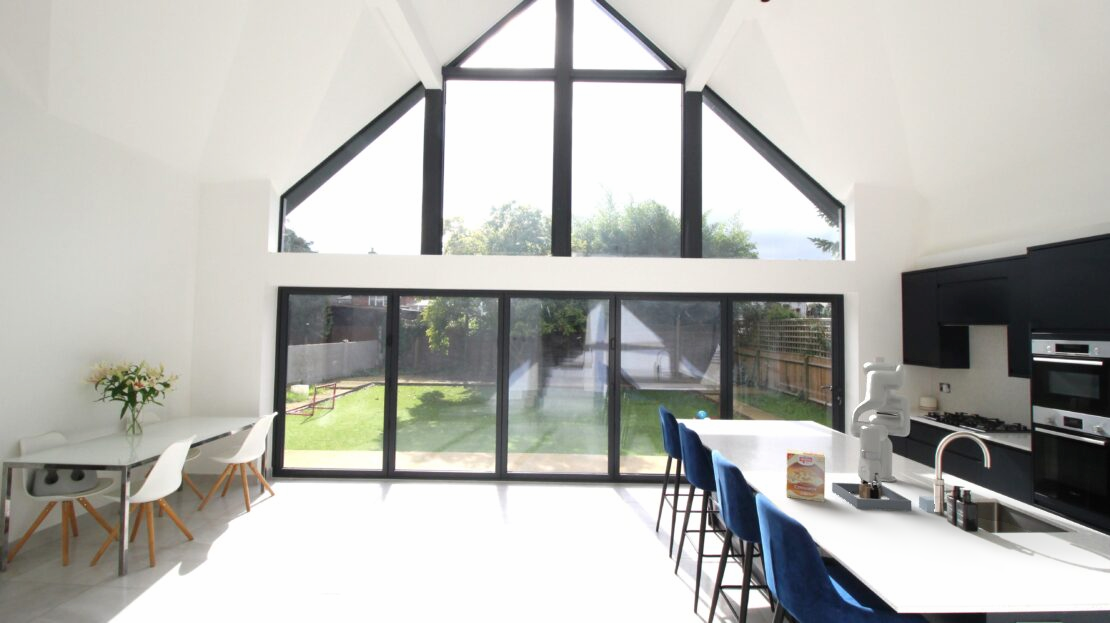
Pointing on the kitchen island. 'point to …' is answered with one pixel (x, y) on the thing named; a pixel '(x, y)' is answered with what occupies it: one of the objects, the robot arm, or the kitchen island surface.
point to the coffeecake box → (805, 475)
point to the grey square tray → (884, 504)
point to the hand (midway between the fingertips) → (869, 495)
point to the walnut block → (866, 491)
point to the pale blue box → (926, 503)
